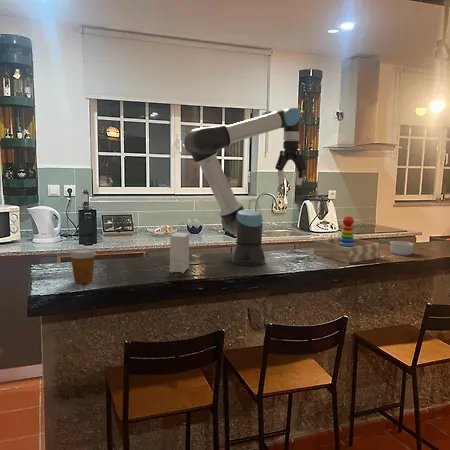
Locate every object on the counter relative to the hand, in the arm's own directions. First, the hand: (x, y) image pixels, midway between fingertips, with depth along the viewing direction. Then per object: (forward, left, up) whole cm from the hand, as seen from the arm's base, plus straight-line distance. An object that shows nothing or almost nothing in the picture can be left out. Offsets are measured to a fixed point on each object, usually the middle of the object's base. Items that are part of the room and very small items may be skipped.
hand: (289, 184), depth 217 cm
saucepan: (+50, -27, -35) cm, 67 cm away
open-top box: (+20, -21, -35) cm, 45 cm away
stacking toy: (+20, -21, -34) cm, 44 cm away
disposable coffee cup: (-103, -3, -35) cm, 109 cm away
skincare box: (-64, -6, -35) cm, 73 cm away
